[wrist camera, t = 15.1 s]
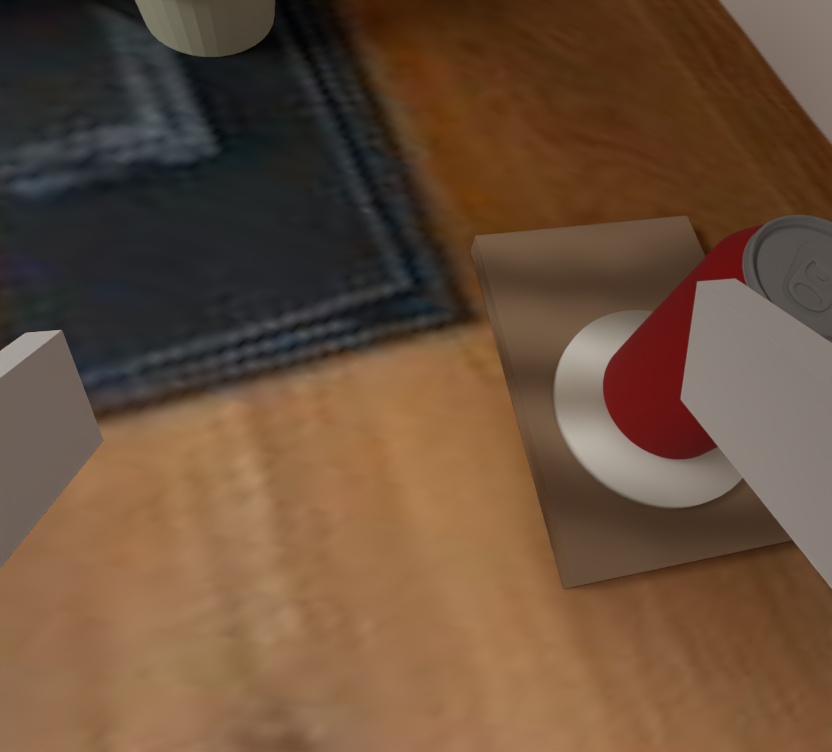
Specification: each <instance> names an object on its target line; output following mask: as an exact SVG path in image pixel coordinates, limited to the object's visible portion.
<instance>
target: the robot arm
mask: <svg viewBox="0 0 832 752" xmlns="http://www.w3.org/2000/svg"><path fill="white" fill-rule="evenodd" d="M681 401H682V402H683V403H684V404H685V406H686V407H687V408H688V409H689V411H690V412H691V413H692V414H693V416H694V417H695V418H696V420H697V421H698V422H699V423H700V425H701V426H702V427H703V428H704V430H705V431H706V432H707V433H708V435H709V436H710V437H711V438H712V440H713V441H714V442H715V443H716V445H717V446H718V447H719V448H720V450H721V451H722V452H723V453H724V455H725V456H726V457H727V458H728V460H729V461H730V462H731V463H732V465H733V466H734V467H735V468H736V470H737V471H738V472H739V473H740V475H741V476H742V477H743V478H744V480H745V481H746V482H747V483H748V485H749V486H750V487H751V488H752V490H753V491H754V492H755V493H756V495H757V496H758V497H759V498H760V500H761V501H762V502H763V503H764V505H765V506H766V507H767V508H768V510H769V511H770V512H771V513H772V515H773V516H774V517H775V518H776V520H777V521H778V522H779V523H780V525H781V526H782V527H783V528H784V530H785V531H786V532H787V533H788V535H789V536H790V537H791V538H792V540H793V541H794V542H795V544H796V545H797V546H798V547H799V549H800V550H801V551H802V552H803V554H804V555H805V556H806V557H807V559H808V560H809V561H810V562H811V564H812V565H813V566H814V567H815V569H816V570H817V571H818V572H819V574H820V575H821V576H822V577H823V579H824V580H825V581H826V582H827V584H828V585H829V586H830V587H831V589H832V343H831V342H829V341H828V340H826V339H825V338H824V337H822V336H821V335H819V334H818V333H816V332H815V331H813V330H812V329H810V328H809V327H807V326H806V325H804V324H803V323H801V322H800V321H798V320H797V319H795V318H794V317H792V316H791V315H789V314H788V313H786V312H785V311H783V310H782V309H780V308H779V307H777V306H776V305H774V304H773V303H771V302H770V301H768V300H767V299H765V298H764V297H762V296H761V295H759V294H758V293H756V292H755V291H753V290H752V289H750V288H749V287H747V286H746V285H744V284H743V283H741V282H740V281H738V280H737V279H723V280H710V281H697V287H696V294H695V301H694V308H693V315H692V322H691V329H690V336H689V343H688V350H687V357H686V364H685V371H684V378H683V385H682V392H681ZM102 442H103V438H102V435H101V433H100V430H99V427H98V425H97V422H96V419H95V417H94V414H93V411H92V409H91V406H90V403H89V401H88V398H87V395H86V393H85V390H84V388H83V385H82V382H81V380H80V377H79V374H78V372H77V369H76V366H75V364H74V361H73V358H72V356H71V353H70V350H69V348H68V345H67V343H66V340H65V337H64V335H63V332H62V330H56V331H43V332H30V333H25V334H23V335H22V336H21V337H19V338H18V339H16V340H15V341H14V342H12V343H11V344H9V345H8V346H7V347H5V348H4V349H2V350H1V351H0V568H1V567H2V566H3V565H4V563H5V562H6V561H7V560H8V558H9V557H10V556H11V555H12V553H13V552H14V551H15V550H16V548H17V547H18V546H19V545H20V543H21V542H22V541H23V540H24V538H25V537H26V536H27V535H28V534H29V532H30V531H31V530H32V529H33V527H34V526H35V525H36V524H37V522H38V521H39V520H40V519H41V517H42V516H43V515H44V514H45V512H46V511H47V510H48V509H49V507H50V506H51V505H52V504H53V502H54V501H55V500H56V499H57V498H58V496H59V495H60V494H61V493H62V491H63V490H64V489H65V488H66V486H67V485H68V484H69V483H70V481H71V480H72V479H73V478H74V476H75V475H76V474H77V473H78V471H79V470H80V469H81V468H82V466H83V465H84V464H85V463H86V462H87V460H88V459H89V458H90V457H91V455H92V454H93V453H94V452H95V450H96V449H97V448H98V447H99V445H100V444H101V443H102Z"/></svg>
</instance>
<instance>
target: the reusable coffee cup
mask: <svg viewBox="0 0 832 752" xmlns="http://www.w3.org/2000/svg"><path fill="white" fill-rule="evenodd" d="M135 2H136V4H137V6H138V8H139V10H140V12H141V15H142V17H143V19H144V21H145V23H146V25H147V27H148V29H149V30H150V32H151V33H152V34H153V35H154V36H155V37H156V38H157V39H158V40H159V41H160V42H162V43H163V44H165V45H166V46H168V47H170V48H172V49H174V50H177V51H179V52H182V53H186V54H189V55H194V56H202V57H221V56H227V55H233V54H236V53H239V52H242V51H245V50H247V49H249V48H251V47H253V46H255V45H256V44H258V43H259V42H260V41H262V40H263V39H264V38H265V36H266V35H267V34H268V33H269V31H270V29H271V27H272V25H273V22H274V16H275V0H135Z"/></svg>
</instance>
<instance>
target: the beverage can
mask: <svg viewBox="0 0 832 752" xmlns="http://www.w3.org/2000/svg"><path fill="white" fill-rule="evenodd" d="M723 279H737V280H738V281H740V282H741V283H743V284H744V285H746V286H747V287H749V288H750V289H752V290H753V291H755V292H756V293H758V294H759V295H761V296H762V297H764V298H765V299H767V300H768V301H770V302H771V303H773V304H774V305H776V306H777V307H779V308H780V309H782V310H783V311H785V312H786V313H788V314H789V315H791V316H792V317H794V318H795V319H797V320H798V321H800V322H801V323H803V324H804V325H806V326H807V327H809V328H810V329H812V330H813V331H815V332H816V333H818V334H819V335H821V336H822V337H824V338H825V339H826V340H828V341H829V342H831V343H832V222H831V221H828V220H825V219H822V218H818V217H814V216H808V215H788V216H782V217H779V218H776V219H773V220H771V221H769V222H768V223H766V224H765V225H761V226H757V227H752V228H748V229H744V230H741V231H738V232H736V233H734V234H732V235H730V236H728V237H726V238H725V239H723V240H722V241H721V242H720V243H719V244H718V245H717V246H716V247H715V248H714V249H713V250H712V251H711V252H710V253H709V254H708V255H707V256H706V257H705V258H704V259H703V260H702V261H701V262H700V263H699V264H698V265H697V266H696V267H695V268H694V269H693V270H692V271H691V272H690V274H689V275H688V276H687V277H686V278H685V279H684V280H683V281H682V282H681V283H680V284H679V285H678V286H677V287H676V288H675V289H674V290H673V291H672V292H671V293H670V294H669V296H668V297H667V298H666V299H665V300H664V301H663V302H662V303H661V304H660V305H659V306H658V307H657V308H656V309H655V310H654V311H653V312H652V314H651V315H650V316H649V317H648V318H647V319H646V320H645V321H644V322H643V323H642V324H641V325H640V326H639V328H638V329H637V330H636V331H635V332H634V333H633V334H632V335H631V336H630V337H629V338H628V340H627V341H626V342H625V343H624V344H623V345H622V346H621V347H620V348H619V350H618V351H617V352H616V353H615V354H614V355H613V356H612V358H611V359H610V361H609V363H608V365H607V367H606V370H605V373H604V378H603V395H604V400H605V404H606V407H607V409H608V412H609V414H610V416H611V418H612V420H613V421H614V423H615V424H616V426H617V427H618V428H619V430H620V431H621V432H622V433H623V434H624V435H625V436H626V437H627V438H628V439H629V440H630V441H631V442H633V443H634V444H635V445H637V446H638V447H640V448H641V449H643V450H645V451H647V452H649V453H651V454H653V455H656V456H659V457H663V458H668V459H690V458H695V457H698V456H700V455H703V454H705V453H707V452H709V451H711V450H713V449H715V448H717V447H718V446H717V445H716V443H715V442H714V441H713V440H712V438H711V437H710V436H709V435H708V433H707V432H706V431H705V430H704V428H703V427H702V426H701V425H700V423H699V422H698V421H697V420H696V418H695V417H694V416H693V414H692V413H691V412H690V411H689V409H688V408H687V407H686V406H685V404H684V403H683V402H682V401H681V392H682V385H683V378H684V371H685V364H686V357H687V350H688V343H689V336H690V329H691V322H692V315H693V308H694V301H695V294H696V287H697V281H710V280H723Z"/></svg>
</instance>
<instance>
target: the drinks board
mask: <svg viewBox="0 0 832 752" xmlns="http://www.w3.org/2000/svg"><path fill="white" fill-rule="evenodd" d="M471 254H472V258H473V261H474V265H475V269H476V272H477V276H478V280H479V283H480V287H481V290H482V294H483V298H484V301H485V305H486V309H487V312H488V316H489V320H490V323H491V327H492V330H493V334H494V338H495V341H496V345H497V349H498V352H499V356H500V360H501V363H502V367H503V370H504V374H505V378H506V381H507V385H508V389H509V392H510V396H511V400H512V403H513V407H514V410H515V414H516V418H517V421H518V425H519V429H520V432H521V436H522V439H523V443H524V447H525V450H526V454H527V458H528V461H529V465H530V469H531V472H532V476H533V479H534V483H535V487H536V490H537V494H538V498H539V501H540V505H541V509H542V512H543V516H544V519H545V523H546V527H547V530H548V534H549V538H550V541H551V545H552V549H553V552H554V556H555V559H556V563H557V567H558V570H559V574H560V578H561V581H562V585H563V589H567V588H571V587H576V586H581V585H585V584H590V583H595V582H600V581H604V580H609V579H614V578H618V577H623V576H628V575H632V574H637V573H642V572H647V571H651V570H656V569H661V568H665V567H670V566H675V565H679V564H684V563H689V562H694V561H698V560H703V559H708V558H712V557H717V556H722V555H726V554H731V553H736V552H741V551H745V550H750V549H755V548H759V547H764V546H769V545H773V544H778V543H783V542H788V541H792V538H791V537H790V536H789V535H788V533H787V532H786V531H785V530H784V528H783V527H782V526H781V525H780V523H779V522H778V521H777V520H776V518H775V517H774V516H773V515H772V513H771V512H770V511H769V510H768V508H767V507H766V506H765V505H764V503H763V502H762V501H761V500H760V498H759V497H758V496H757V495H756V493H755V492H754V491H753V490H752V488H751V487H750V486H749V485H748V483H747V482H746V481H745V480H744V478H743V477H742V476H741V475H740V473H739V472H738V471H737V470H736V468H735V467H734V466H733V465H732V463H731V462H730V461H729V460H728V458H727V457H726V456H725V455H724V453H723V452H722V451H721V450H720V448H719V447H717V448H715V449H713V450H711V451H709V452H707V453H705V454H703V455H700V456H698V457H695V458H690V459H668V458H663V457H659V456H656V455H653V454H651V453H649V452H647V451H645V450H643V449H641V448H640V447H638V446H637V445H635V444H634V443H633V442H631V441H630V440H629V439H628V438H627V437H626V436H625V435H624V434H623V433H622V432H621V431H620V430H619V428H618V427H617V426H616V424H615V423H614V421H613V420H612V418H611V416H610V414H609V412H608V409H607V407H606V404H605V400H604V395H603V378H604V373H605V370H606V367H607V365H608V363H609V361H610V359H611V358H612V356H613V355H614V354H615V353H616V352H617V351H618V350H619V348H620V347H621V346H622V345H623V344H624V343H625V342H626V341H627V340H628V338H629V337H630V336H631V335H632V334H633V333H634V332H635V331H636V330H637V329H638V328H639V326H640V325H641V324H642V323H643V322H644V321H645V320H646V319H647V318H648V317H649V316H650V315H651V314H652V312H653V311H654V310H655V309H656V308H657V307H658V306H659V305H660V304H661V303H662V302H663V301H664V300H665V299H666V298H667V297H668V296H669V294H670V293H671V292H672V291H673V290H674V289H675V288H676V287H677V286H678V285H679V284H680V283H681V282H682V281H683V280H684V279H685V278H686V277H687V276H688V275H689V274H690V272H691V271H692V270H693V269H694V268H695V267H696V266H697V265H698V264H699V263H700V262H701V261H702V260H703V259H704V258H705V254H704V252H703V250H702V248H701V245H700V243H699V241H698V239H697V237H696V234H695V232H694V230H693V228H692V225H691V223H690V221H689V219H688V216H676V217H666V218H655V219H645V220H635V221H624V222H614V223H603V224H593V225H583V226H572V227H562V228H551V229H541V230H531V231H520V232H510V233H499V234H489V235H479V236H475V239H474V242H473V245H472V248H471Z"/></svg>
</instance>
